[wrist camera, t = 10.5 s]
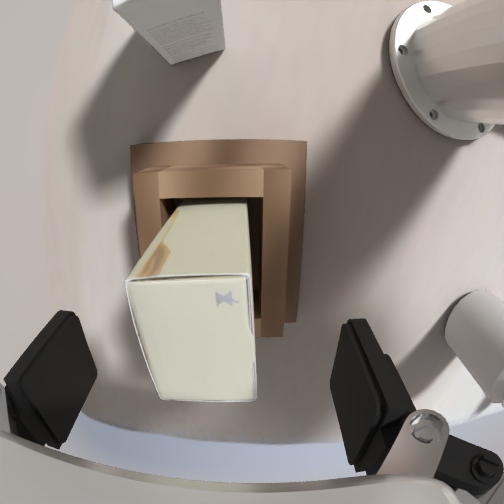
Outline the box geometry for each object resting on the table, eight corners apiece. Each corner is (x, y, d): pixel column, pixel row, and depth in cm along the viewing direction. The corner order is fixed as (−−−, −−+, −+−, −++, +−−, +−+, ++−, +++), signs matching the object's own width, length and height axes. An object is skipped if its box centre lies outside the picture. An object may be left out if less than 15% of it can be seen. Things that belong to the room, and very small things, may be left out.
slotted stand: (302, 140, 21) (321, 142, 16) (293, 312, 26) (303, 353, 21) (137, 144, 21) (106, 148, 16) (154, 311, 26) (136, 350, 21)
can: (482, 334, 29) (535, 396, 17) (434, 350, 29) (486, 425, 18) (496, 279, 26) (565, 337, 15) (447, 292, 26) (518, 365, 15)
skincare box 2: (184, 194, 21) (116, 269, 9) (247, 190, 21) (252, 263, 9) (193, 279, 23) (156, 404, 12) (251, 277, 23) (258, 405, 12)
